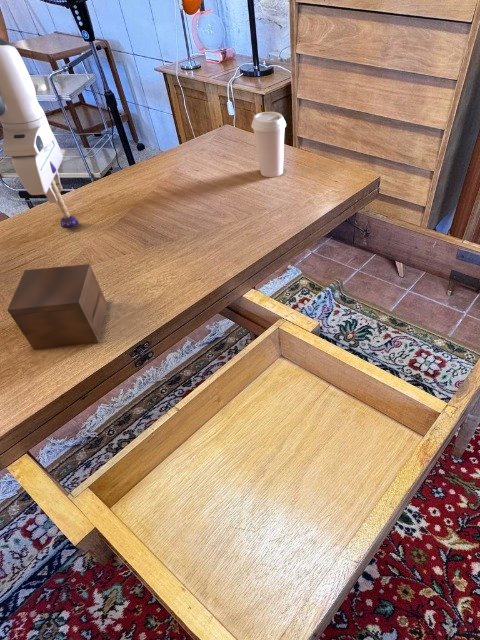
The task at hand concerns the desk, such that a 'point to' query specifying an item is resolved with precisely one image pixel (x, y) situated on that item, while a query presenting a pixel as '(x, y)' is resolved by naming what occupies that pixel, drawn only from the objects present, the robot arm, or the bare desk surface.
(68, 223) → the toy lamp
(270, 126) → the coffee cup
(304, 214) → the desk surface
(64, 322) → the lidded wooden box
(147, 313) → the desk surface
